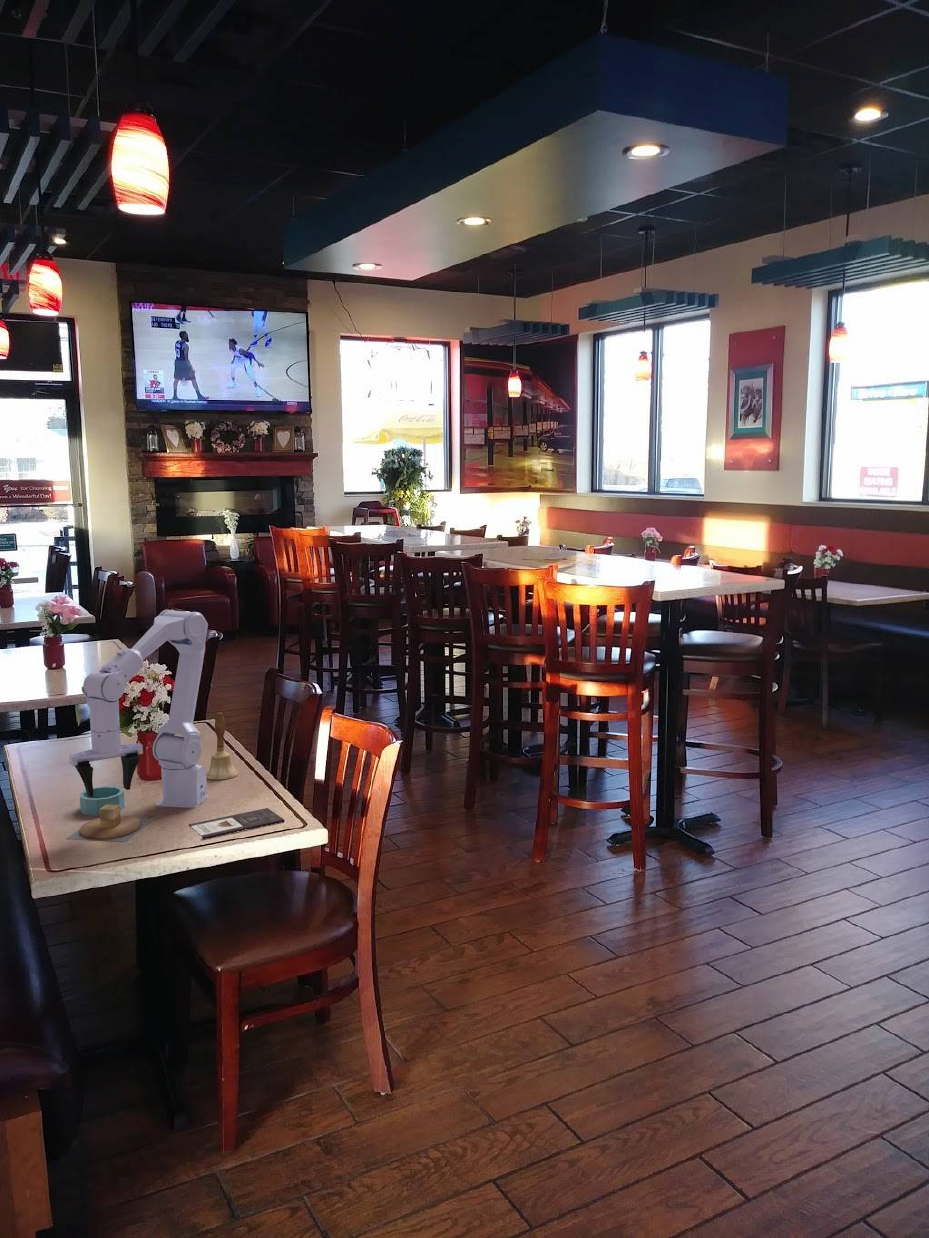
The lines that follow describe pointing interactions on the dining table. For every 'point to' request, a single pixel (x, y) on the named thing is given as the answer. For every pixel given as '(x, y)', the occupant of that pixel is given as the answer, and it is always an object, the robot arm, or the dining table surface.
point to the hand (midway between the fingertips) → (108, 792)
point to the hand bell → (220, 755)
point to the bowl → (101, 799)
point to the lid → (110, 824)
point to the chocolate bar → (236, 823)
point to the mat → (144, 823)
